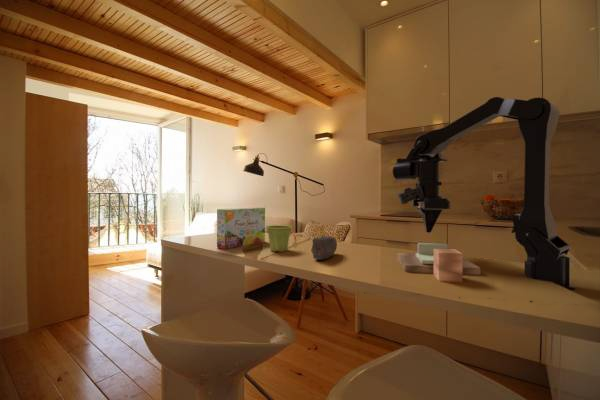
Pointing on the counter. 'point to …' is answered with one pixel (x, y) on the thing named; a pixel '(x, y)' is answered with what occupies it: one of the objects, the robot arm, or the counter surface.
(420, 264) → the puzzle board
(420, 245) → the slide cover
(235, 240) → the snack box
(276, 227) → the plant pot
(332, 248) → the perforated stone tool
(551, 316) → the counter surface
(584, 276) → the counter surface
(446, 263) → the block
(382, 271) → the counter surface
